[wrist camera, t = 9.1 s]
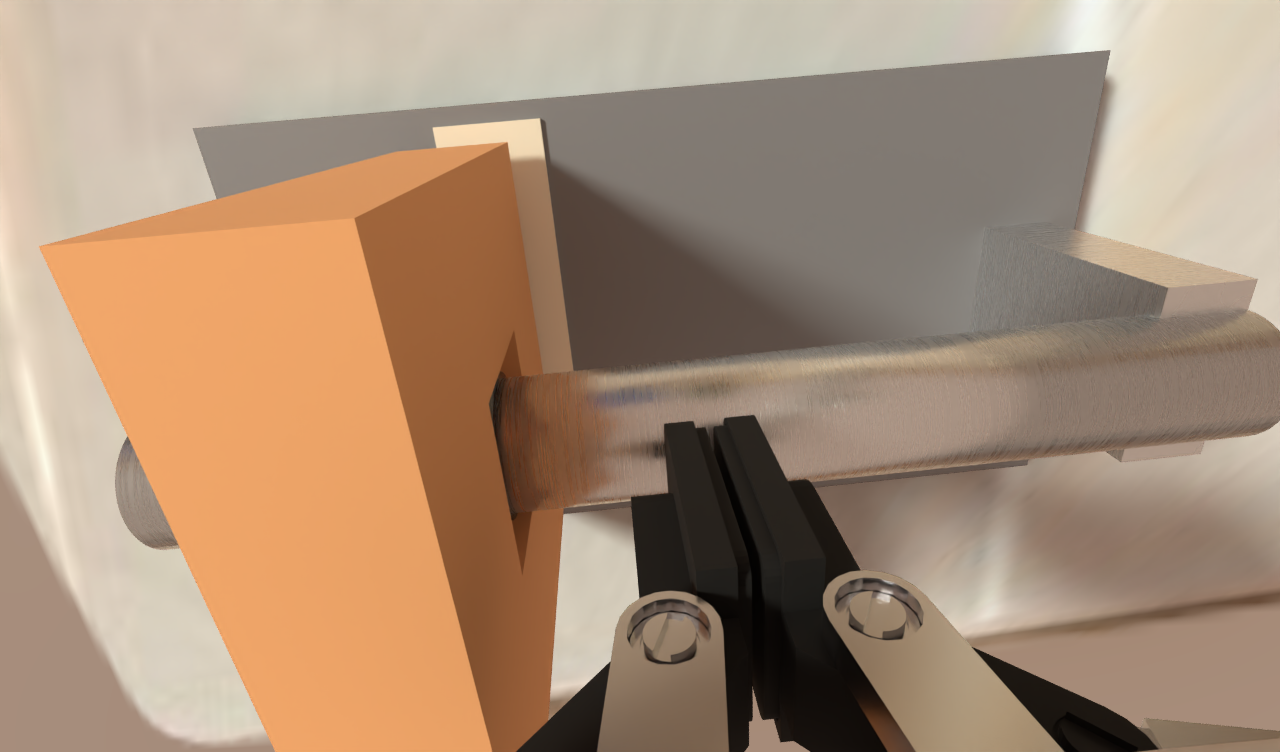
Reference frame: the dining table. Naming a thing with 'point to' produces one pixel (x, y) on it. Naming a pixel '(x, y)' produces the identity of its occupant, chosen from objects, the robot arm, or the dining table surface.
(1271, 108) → the dining table surface
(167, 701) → the dining table surface
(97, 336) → the collar
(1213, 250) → the dining table surface
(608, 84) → the dining table surface
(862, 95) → the base board
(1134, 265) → the pipe
